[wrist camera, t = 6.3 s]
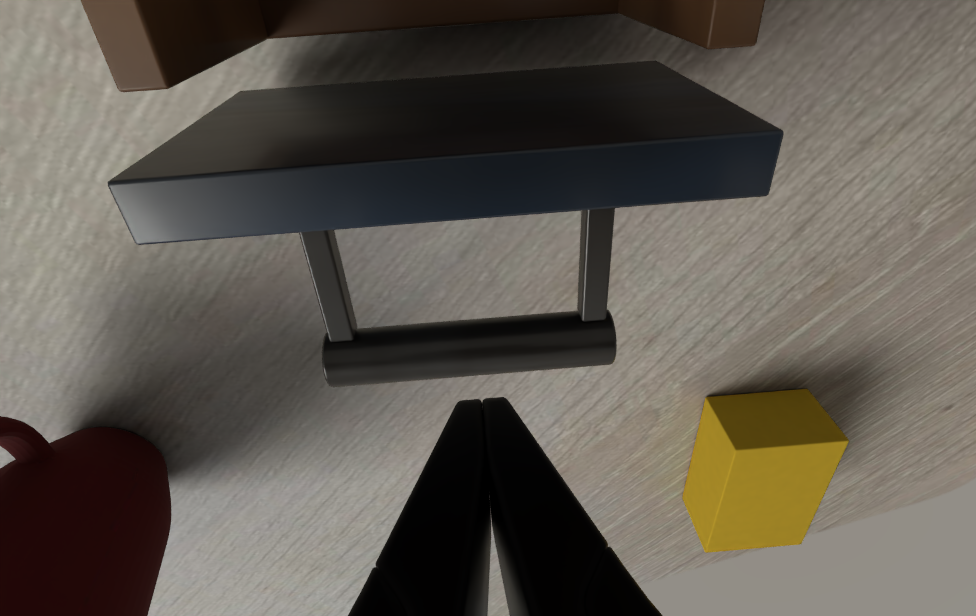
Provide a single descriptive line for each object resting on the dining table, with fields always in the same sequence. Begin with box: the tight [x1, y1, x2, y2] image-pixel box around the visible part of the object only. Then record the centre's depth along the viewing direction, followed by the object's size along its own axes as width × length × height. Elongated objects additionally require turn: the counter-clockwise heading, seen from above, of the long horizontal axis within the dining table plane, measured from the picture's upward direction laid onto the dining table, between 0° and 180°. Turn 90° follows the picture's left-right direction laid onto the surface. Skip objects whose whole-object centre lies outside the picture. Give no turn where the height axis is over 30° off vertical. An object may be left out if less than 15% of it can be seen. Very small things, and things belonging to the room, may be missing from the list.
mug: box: [0, 416, 171, 616], centre depth 18 cm, size 11×8×10 cm
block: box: [682, 389, 849, 553], centre depth 24 cm, size 7×4×3 cm, turn 3°
